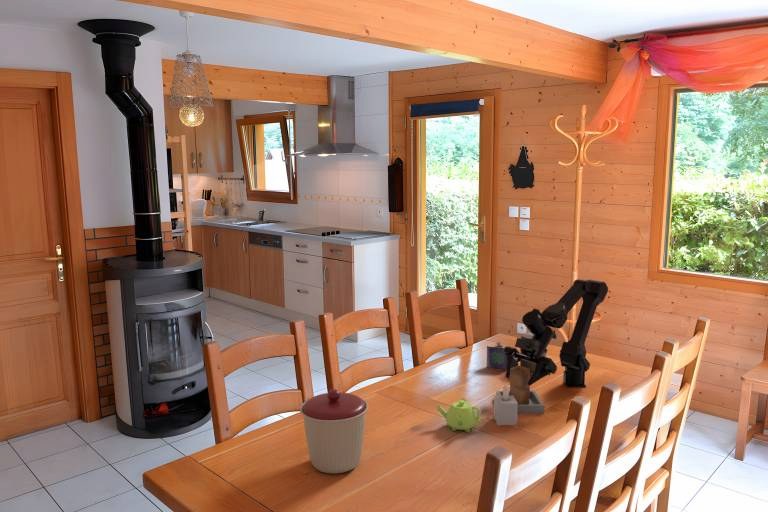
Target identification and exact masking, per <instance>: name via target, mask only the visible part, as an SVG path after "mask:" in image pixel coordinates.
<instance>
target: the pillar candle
mask: <svg viewBox="0 0 768 512" xmlns="http://www.w3.org/2000/svg"><path fill="white" fill-rule="evenodd" d="M533 335H534V334H532V333H531V332H530V331H529V332H527V331H526V332H523V333H522V334H521V335H520V338H521V339H524V340H527V339H528V338H530V339H531V338H532V337H533ZM520 353H521V354H523V352H521V351H520ZM542 356H544V357H547V353H543V355H542ZM519 366H522V367H526V368H529V369H530V375H532V374H533V372H534V370H535V367H536V364H534V363H531V362H527V361H524V360H521V361H520V362H519Z"/></svg>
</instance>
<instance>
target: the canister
mask: <svg viewBox="0 0 768 512" xmlns="http://www.w3.org/2000/svg"><path fill="white" fill-rule="evenodd" d="M368 410H369V403H368V402H367V401H366V400H365V399H364V398H362V397H360V396H358V395H356V394H353V393H348V392H340V390H339V389H336V388H333V389H330V390H329V391H328V392H325V393H321V394H318V395H315V396H312V397H310V398H309V399H307V400H305V401H304V402H303V403H302V404H301V405H300V407H299V411H300V414H301V415H302V417H303V418H302V420H303V424H304V425H303V426H304V431H305V438H306V439H305V440H306V445H307V449H308V456H309V460H310V462H311V464H312V466H313V467H314V468H315V469H316V470H317V471H319V472H321V473H326V474H334V475H335V474H336V475H337V474H343V473H347V472H349V471H351V470H353V469H355V468H356V467H357V466H358V465H359V463H360V461H361V458H362V453H363V452H362V451H363V445H364V436H365V426H366V425H365V424H366V414H367V412H368Z"/></svg>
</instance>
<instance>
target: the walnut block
mask: <svg viewBox="0 0 768 512" xmlns="http://www.w3.org/2000/svg"><path fill="white" fill-rule="evenodd" d="M530 378H531V374H530V369H529V368H526V367H522V366H520V365H518V366H516V367H513V368H510V376H509V391H510V396H514V398H515V399H516V401H517V403H518V405H528V404H529V395H530V390H531V387H530V386H531V385H530V386H529V385H528V382H529V379H530Z"/></svg>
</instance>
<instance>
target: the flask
mask: <svg viewBox="0 0 768 512" xmlns="http://www.w3.org/2000/svg"><path fill="white" fill-rule="evenodd" d="M507 346H508V345H503V344H501V341H497V342H496V345H493V344H492V345H491V344H489V345H488V344H487V346H486V368H487V369H490V368H491V369H492V370H497V369H499V370H500V371H505V370H507V361H508V360H507V357H506V356H505V354H504V353H503V350H504V349H505V347H507Z"/></svg>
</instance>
